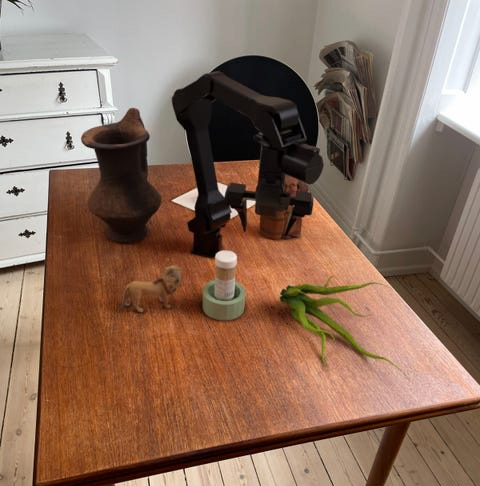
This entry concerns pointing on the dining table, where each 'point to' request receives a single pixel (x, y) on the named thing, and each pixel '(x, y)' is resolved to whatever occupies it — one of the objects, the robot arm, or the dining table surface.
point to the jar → (223, 303)
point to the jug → (122, 178)
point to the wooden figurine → (283, 215)
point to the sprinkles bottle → (225, 275)
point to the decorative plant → (310, 306)
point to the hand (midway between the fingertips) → (265, 233)
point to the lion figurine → (154, 288)
